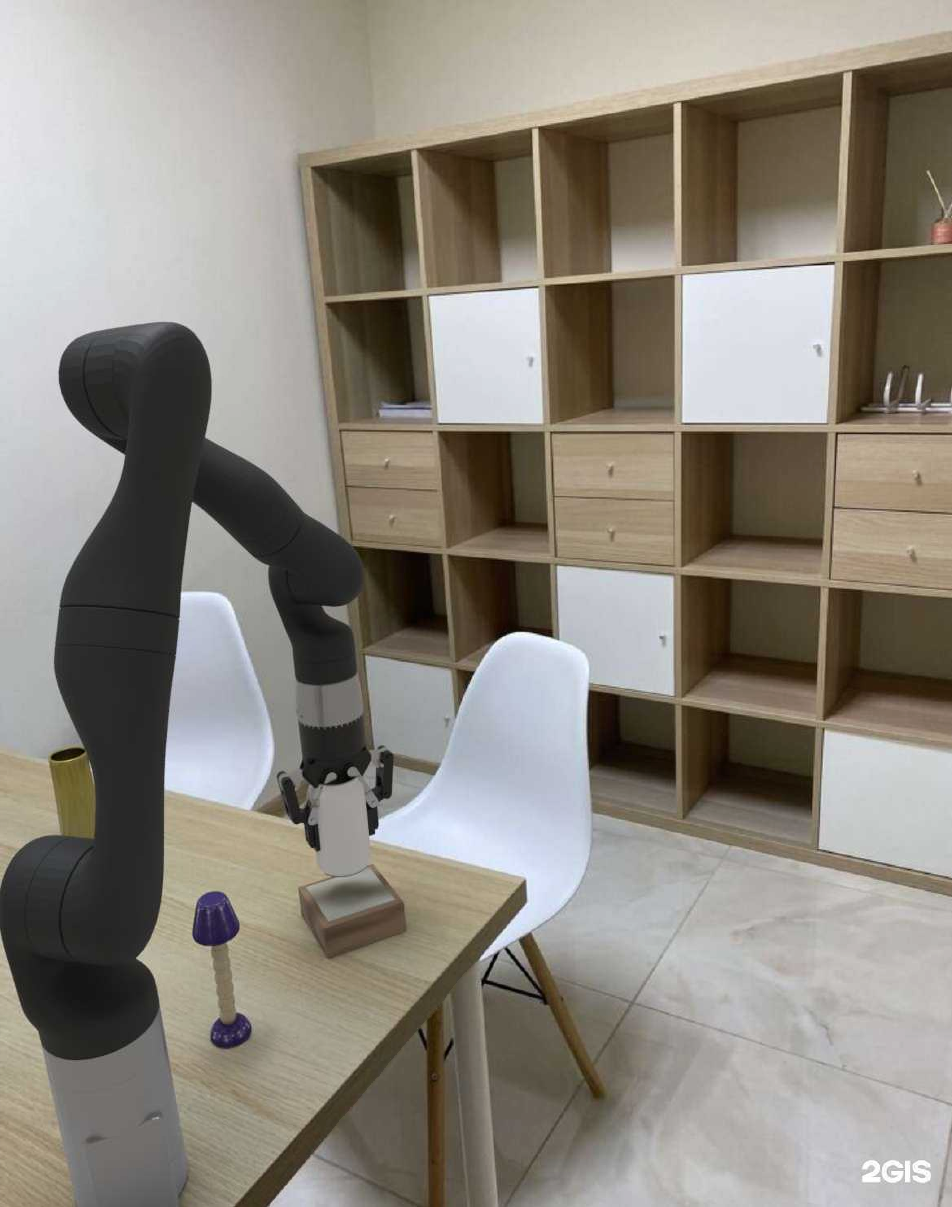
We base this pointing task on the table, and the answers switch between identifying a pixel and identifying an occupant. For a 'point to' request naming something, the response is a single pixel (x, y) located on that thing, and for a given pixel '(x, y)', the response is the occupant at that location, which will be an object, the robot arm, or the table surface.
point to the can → (342, 828)
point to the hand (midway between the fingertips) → (343, 839)
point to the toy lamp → (221, 965)
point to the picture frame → (351, 910)
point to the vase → (73, 791)
